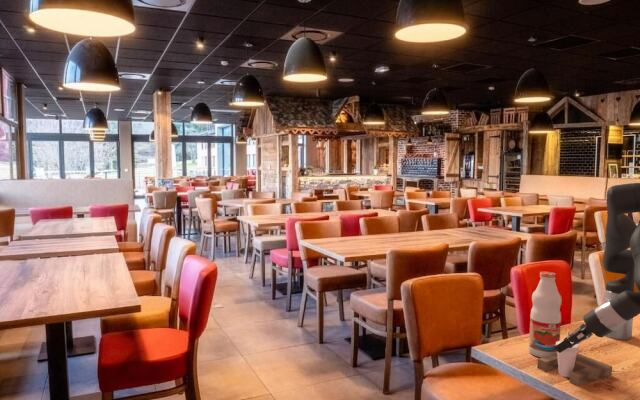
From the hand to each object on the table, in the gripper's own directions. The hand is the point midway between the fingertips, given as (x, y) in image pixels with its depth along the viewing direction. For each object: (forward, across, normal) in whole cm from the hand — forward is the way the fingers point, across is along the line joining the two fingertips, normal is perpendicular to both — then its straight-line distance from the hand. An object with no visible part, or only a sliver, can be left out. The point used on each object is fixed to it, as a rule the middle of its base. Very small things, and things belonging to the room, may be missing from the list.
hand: (561, 346), depth 151 cm
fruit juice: (+12, -12, 0) cm, 18 cm away
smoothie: (+5, 0, +7) cm, 9 cm away
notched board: (+4, -4, +8) cm, 10 cm away
